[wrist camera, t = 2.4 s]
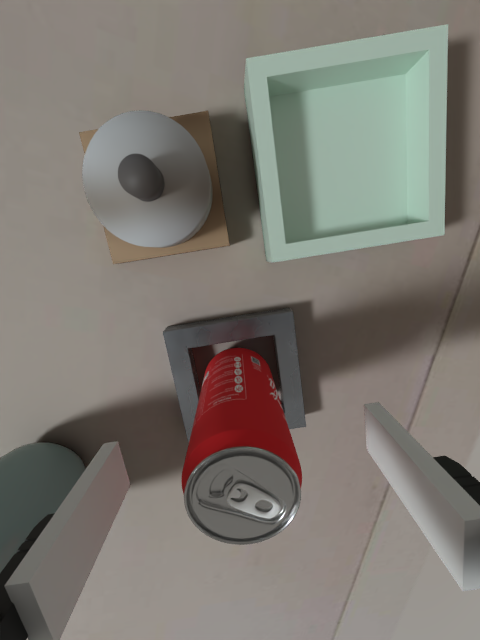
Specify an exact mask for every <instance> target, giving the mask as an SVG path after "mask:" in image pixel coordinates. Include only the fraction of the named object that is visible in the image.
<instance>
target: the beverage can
mask: <svg viewBox="0 0 480 640" xmlns="http://www.w3.org/2000/svg"><path fill="white" fill-rule="evenodd" d="M301 484H302V472H301V467H300V463H299V459H298V456H297V453H296V450H295V447H294V443H293V440H292V437H291V434H290V431H289V428H288V424H287V421H286V418H285V415H284V412H283V409H282V405H281V402H280V399H279V396H278V393H277V390H276V387H275V383H274V380H273V377H272V374H271V371H270V368H269V365H268V364H267V362H266V361H265V360H264V359H263V358H262V357H261V356H260V355H259V354H258V353H256V352H254V351H252V350H249V349H246V348H231V349H227V350H224V351H222V352H220V353H219V354H217V355H216V356H215V357H214V358H213V359H212V360H211V361H210V362H209V364H208V366H207V368H206V371H205V375H204V379H203V384H202V388H201V392H200V397H199V401H198V406H197V410H196V414H195V419H194V423H193V428H192V432H191V436H190V441H189V445H188V450H187V454H186V458H185V463H184V467H183V472H182V489H183V493H184V503H185V508H186V511H187V514H188V516H189V518H190V519H191V521H192V522H193V524H194V525H195V526H196V527H197V528H198V529H199V530H200V531H201V532H203V533H204V534H206V535H207V536H209V537H211V538H213V539H215V540H218V541H221V542H224V543H229V544H238V545H244V544H253V543H258V542H261V541H264V540H267V539H269V538H271V537H273V536H275V535H277V534H278V533H280V532H281V531H282V530H284V529H285V528H286V527H287V526H288V525H289V524H290V523H291V521H292V520H293V519H294V517H295V515H296V513H297V511H298V508H299V505H300V500H301Z"/></svg>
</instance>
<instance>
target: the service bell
mask: <svg viewBox="0 0 480 640" xmlns="http://www.w3.org/2000/svg"><path fill="white" fill-rule="evenodd" d="M79 134H80V138H81V142H82V146H83V149H84V153H85V156H84V161H83V173H82V176H83V185H84V190H85V194H86V197H87V200H88V203H89V205H90V207H91V209H92V211H93V212H94V214H95V216H96V217H97V218H98V220H99V221H100V222H101V224H102V225H103V227H104V230H105V234H106V238H107V242H108V246H109V250H110V253H111V257H112V261H113V264H118V263H125V262H131V261H138V260H144V259H150V258H156V257H162V256H169V255H175V254H181V253H187V252H193V251H200V250H206V249H212V248H218V247H224V246H230V244H229V238H228V232H227V225H226V219H225V213H224V207H223V200H222V194H221V188H220V181H219V175H218V169H217V163H216V156H215V150H214V144H213V138H212V131H211V125H210V119H209V113H208V111H204V112H198V113H192V114H186V115H180V116H174V117H167V116H165V115H162V114H159V113H156V112H151V111H141V110H139V111H130V112H126V113H122V114H120V115H117V116H115V117H113V118H112V119H110V120H108V121H107V122H106V123H105V124H104V125H102V126H101V127H100V128H99V129H96V130H90V131H84V132H79Z"/></svg>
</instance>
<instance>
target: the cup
mask: <svg viewBox="0 0 480 640" xmlns="http://www.w3.org/2000/svg"><path fill="white" fill-rule="evenodd" d="M84 471H85V466H84V464H83V462H82V460H81V458H80V457H79V456H78V455H77V454H76V453H75V452H73V451H72V450H70V449H69V448H67V447H64V446H62V445H59V444H55V443H47V442H37V443H31V444H27V445H24V446H21V447H19V448H16V449H14V450H13V451H11V452H9V453H7V454H6V455H4V456H2V457H0V573H1V571H2V570H3V569H4V567H5V566H6V565H7V563H8V562H9V561H10V559H11V558H12V556H13V555H14V554H16V553H17V550H18V548H19V547H20V546H21V544H22V543H23V542H25V539H26V538H27V536H28V535H29V533H30V532H31V531H32V529H33V528H34V527H35V526H36V525H37V524H38V523H39V522H40V521H41V520H42V519H43V518H44V517H46V516H47V515H48V514H54V513H55V512H56V511H57V510H58V508H59V507H60V505H61V504H62V502H63V501H64V500H65V498H66V497H67V495H68V494H69V492H70V491H71V490H72V488H73V487H74V485H75V484H76V482H77V481H78V480H79V478H80V477H81V475H82V474H83V472H84Z"/></svg>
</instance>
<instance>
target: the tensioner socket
mask: <svg viewBox="0 0 480 640" xmlns="http://www.w3.org/2000/svg"><path fill="white" fill-rule="evenodd" d="M163 335H164V340H165V344H166V348H167V353H168V357H169V361H170V365H171V370H172V374H173V378H174V383H175V387H176V391H177V396H178V400H179V404H180V409H181V413H182V417H183V422H184V426H185V430H186V435H187V439H188V443H189V441H190V436H191V432H192V428H193V423H194V419H195V414H196V410H197V406H198V401H199V397H200V392H201V391H200V386H199V381H198V376H197V371H196V367H195V362H194V357H193V352H192V348H193V347H199V346H206V345H212V344H218V343H225V342H231V341H238V340H244V339H250V338H257V337H263V336H269V335H273V339H274V347H275V354H276V362H277V369H278V377H279V384H280V391H281V399H282V403H281V405H282V409H283V412H284V415H285V418H286V421H287V424H288V428H289V429H294V428H300V427H306V422H305V413H304V404H303V395H302V387H301V378H300V369H299V360H298V351H297V342H296V334H295V325H294V316H293V311H292V310H291V309H290V308H283V309H277V310H270V311H264V312H258V313H251V314H245V315H239V316H232V317H226V318H220V319H213V320H207V321H201V322H194V323H188V324H182V325H175V326H169V327H167V328H166V329H165V330H164V331H163Z"/></svg>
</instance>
